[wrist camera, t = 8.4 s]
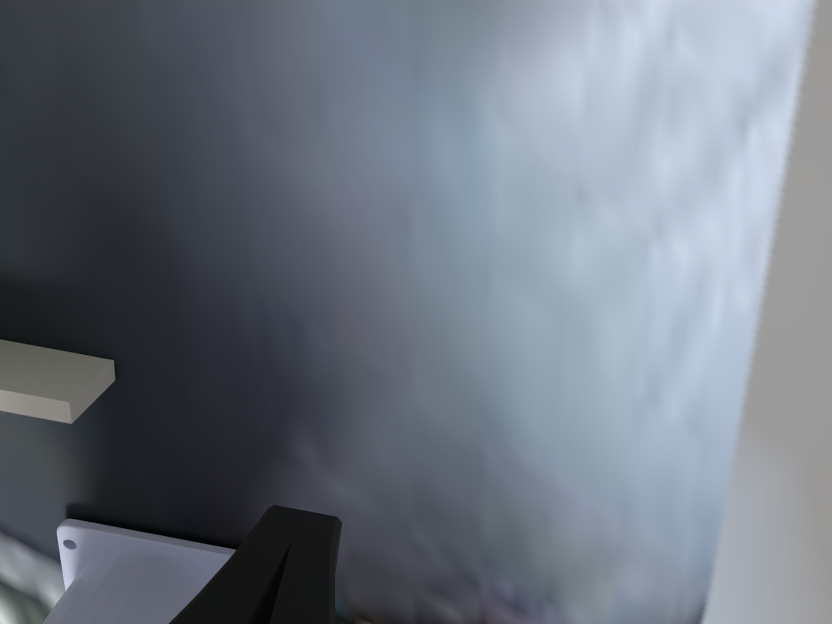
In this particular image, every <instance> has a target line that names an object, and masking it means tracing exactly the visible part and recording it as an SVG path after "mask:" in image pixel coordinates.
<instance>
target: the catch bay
mask: <svg viewBox="0 0 832 624" xmlns="http://www.w3.org/2000/svg"><path fill="white" fill-rule="evenodd" d="M114 381H115V369H114V360H110V359H104V358H99V357H93V356H88V355H83V354H77V353H72V352H66V351H61V350H55V349H50V348H44V347H39V346H34V345H28V344H23V343H17V342H12V341H6V340H1V339H0V411H5V412H10V413H16V414H21V415H27V416H32V417H37V418H43V419H48V420H53V421H59V422H64V423H70V424H72V423H73V422H74V421H75V420H76V419H77V418H78V417H79V416H80V415H81V414H82V413H83V412H84V411H85V410H86V409H87V408H88V407H89V406H90V405H91V404H92V403H93V402H94V401H95V400H96V399H97V398H98V397H99V396H100V395H101V394H102V393H103V392H104V391H105V390H106V389H107V388H108V387H109V386H110V385H111V384H112V383H113V382H114Z"/></svg>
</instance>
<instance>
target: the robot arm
mask: <svg viewBox="0 0 832 624" xmlns="http://www.w3.org/2000/svg"><path fill="white" fill-rule="evenodd" d="M341 527H342V522H341V521H340V520H339V518H338V517H335V516H330V515H325V514H319V513H314V512H309V511H303V510H298V509H292V508H287V507H282V506H276V505H274V506H272V507H270V508H268V509H267V511H266V512H265V514H264V515H263V517H262V518H261V519H260V521H259V522H258V523H257V525H256V526H255V527H254V529H253V530H252V531H251V533H250V534H249V535H248V536H247V538H246V539H245V540H244V541H243V543H242V544H241V545H240V546H239V548H238V549H237V550H235V549H230V548H224V547H219V546H214V545H208V544H203V543H198V542H192V541H187V540H182V539H176V538H171V537H166V536H161V535H155V534H150V533H145V532H139V531H134V530H129V529H123V528H118V527H113V526H108V525H102V524H97V523H92V522H86V521H81V520H76V519H66V520H64V521H63V522H62V523H61V524H60V526H59V527H58V528H57V537H58V544H59V551H60V558H61V564H62V571H63V578H64V585H65V591H66V592H65V593H64V594H63V596H62V597H61V599H60V600H59V601H58V603H57V604H56V606H55V607H54V608H53V610H52V611H51V612H50V614H49V615H48V617H47V618H46V619H45V621H44V622H43V624H336V612H335V572H336V564H337V557H338V549H339V542H340V534H341Z"/></svg>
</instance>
